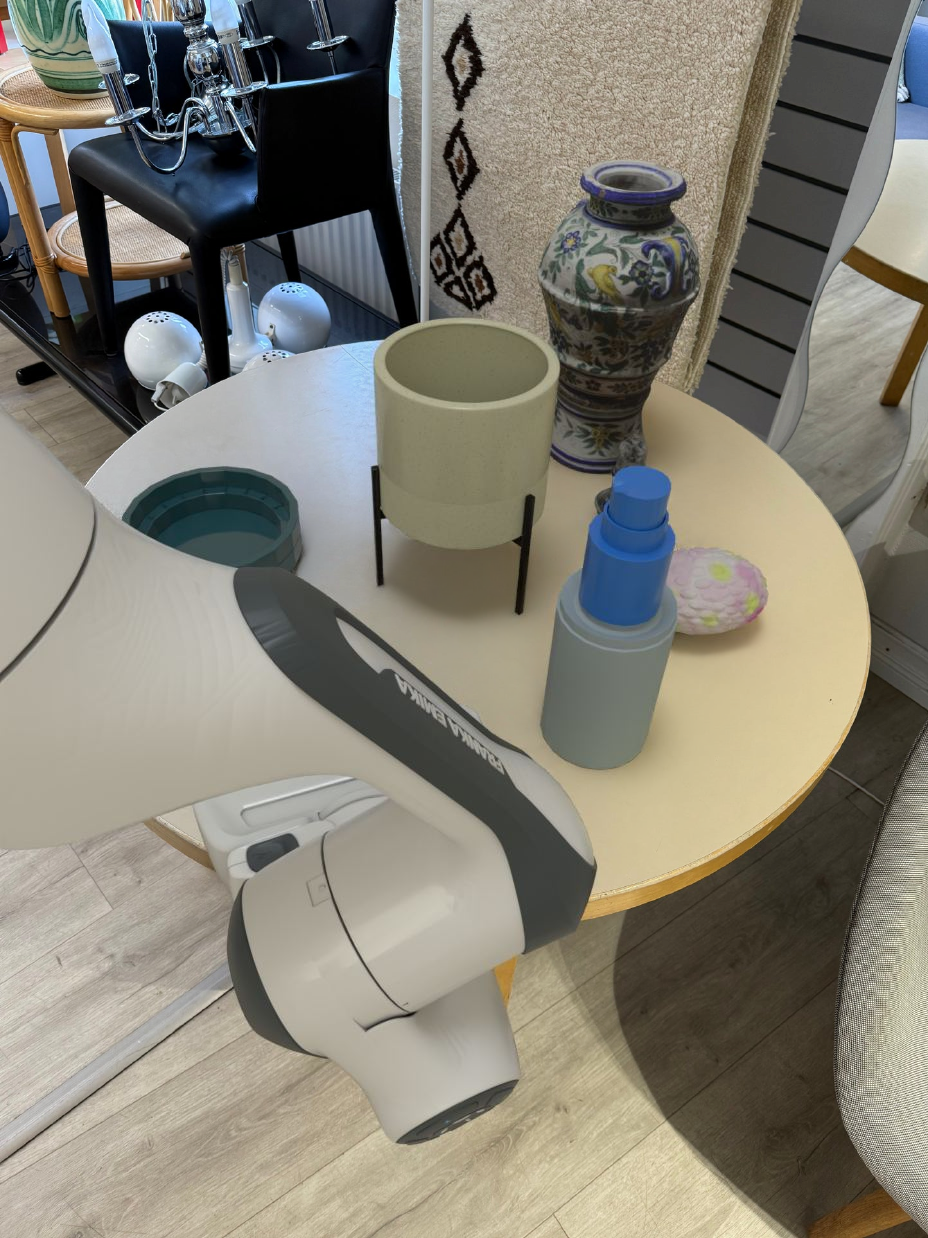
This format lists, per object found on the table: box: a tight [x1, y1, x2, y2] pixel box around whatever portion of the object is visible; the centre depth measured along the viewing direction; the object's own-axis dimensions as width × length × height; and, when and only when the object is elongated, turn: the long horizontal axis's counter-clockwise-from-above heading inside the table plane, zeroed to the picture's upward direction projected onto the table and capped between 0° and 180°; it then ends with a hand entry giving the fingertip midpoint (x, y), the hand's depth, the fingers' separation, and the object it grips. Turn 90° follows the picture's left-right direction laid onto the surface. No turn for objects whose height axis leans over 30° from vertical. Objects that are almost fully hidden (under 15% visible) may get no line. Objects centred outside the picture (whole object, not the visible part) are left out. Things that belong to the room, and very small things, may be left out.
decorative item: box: [666, 546, 769, 636], centre depth 83 cm, size 9×11×10 cm
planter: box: [370, 317, 560, 616], centre depth 82 cm, size 15×16×23 cm
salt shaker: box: [593, 433, 649, 515], centre depth 91 cm, size 6×6×12 cm
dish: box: [121, 465, 303, 572], centre depth 89 cm, size 17×17×5 cm
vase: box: [536, 159, 702, 475], centre depth 96 cm, size 17×17×30 cm
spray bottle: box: [539, 465, 677, 770], centre depth 67 cm, size 9×9×25 cm
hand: (320, 701), depth 66 cm, fingers open, 4 cm apart
